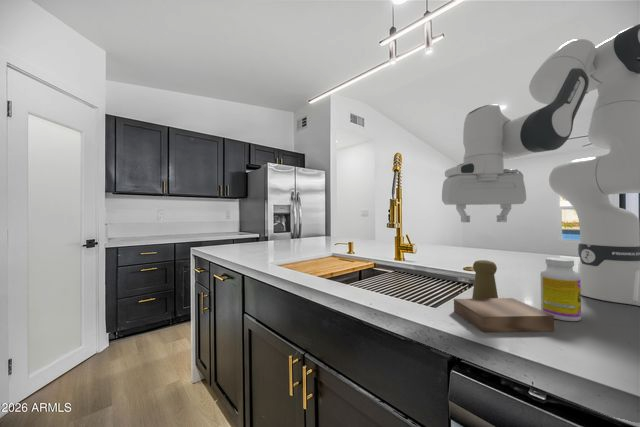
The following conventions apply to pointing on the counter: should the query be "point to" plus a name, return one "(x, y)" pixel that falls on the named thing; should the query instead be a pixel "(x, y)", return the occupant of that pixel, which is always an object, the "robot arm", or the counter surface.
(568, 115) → the robot arm
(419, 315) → the counter surface
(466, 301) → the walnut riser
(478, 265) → the cork
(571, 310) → the supplement bottle
